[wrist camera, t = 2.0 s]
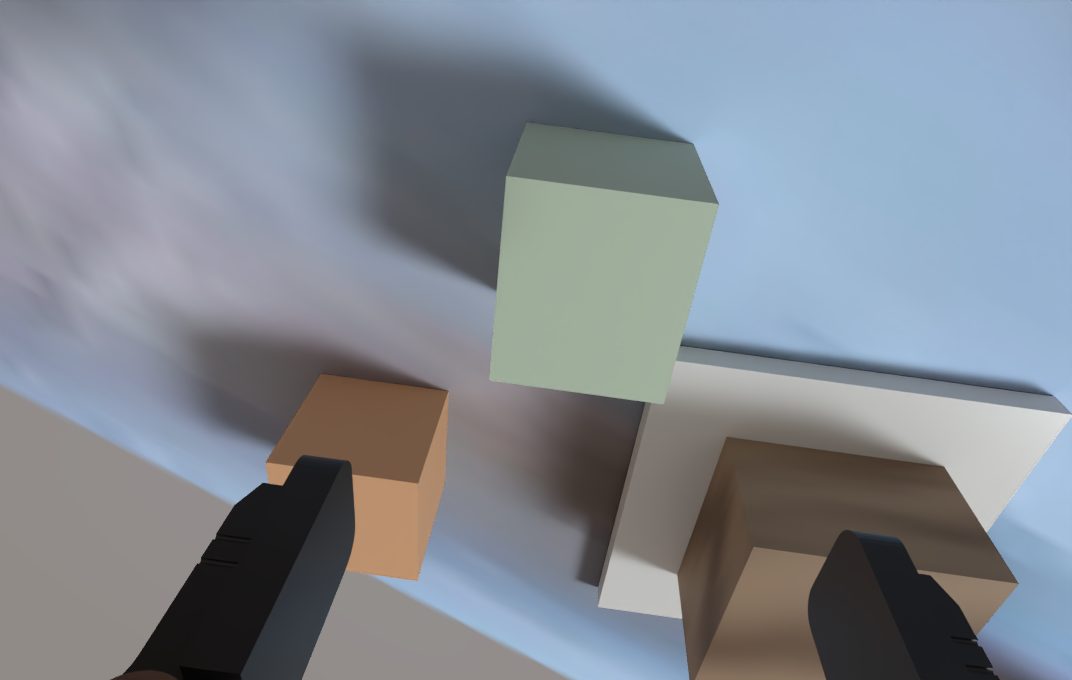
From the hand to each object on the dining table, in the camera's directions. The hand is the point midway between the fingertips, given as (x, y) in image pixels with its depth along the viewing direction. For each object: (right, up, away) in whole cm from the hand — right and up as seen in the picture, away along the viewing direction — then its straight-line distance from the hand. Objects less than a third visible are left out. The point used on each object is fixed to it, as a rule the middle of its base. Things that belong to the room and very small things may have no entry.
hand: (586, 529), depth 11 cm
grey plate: (+10, -4, +16) cm, 19 cm away
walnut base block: (+10, -4, +15) cm, 18 cm away
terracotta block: (-7, 0, +16) cm, 17 cm away
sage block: (+1, +7, +10) cm, 12 cm away
